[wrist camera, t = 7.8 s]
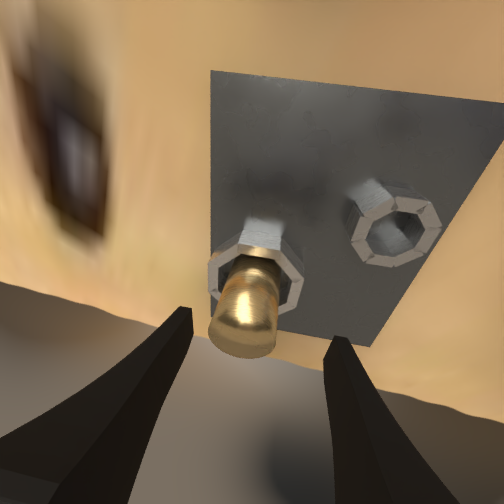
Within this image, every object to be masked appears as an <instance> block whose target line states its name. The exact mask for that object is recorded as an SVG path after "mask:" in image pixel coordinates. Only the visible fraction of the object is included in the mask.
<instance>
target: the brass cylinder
mask: <svg viewBox="0 0 504 504" xmlns="http://www.w3.org/2000/svg"><path fill="white" fill-rule="evenodd" d="M280 281H281V267H280V266H279V265H278V264H277V262H276V261H275V260H274V259H270V258H264V257H258V256H252V255H246V254H240V255H238V256H237V257H235V259H234V262H233V265H232V267H231V270H230V272H229V275H228V278H227V280H226V283H225V286H224V288H223V291H222V294H221V296H220V299H219V301H218V304H217V307H216V309H215V312H214V315H213V317H212V320H211V323H210V325H209V328H208V335H209V338H210V340H211V341H212V343H213V344H214V345H215V346H216V347H217V348H219V349H220V350H221V351H223V352H225V353H227V354H229V355H232V356H235V357H239V358H246V359H247V358H248V359H253V358H260V357H263V356H265V355H267V354H269V353H270V352H271V351H272V350H273V349H274V347H275V344H276V333H277V320H278V307H279V294H280Z"/></svg>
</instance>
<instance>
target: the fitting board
mask: <svg viewBox="0 0 504 504" xmlns="http://www.w3.org/2000/svg"><path fill="white" fill-rule="evenodd" d="M503 140H504V103H498V102H489V101H480V100H471V99H462V98H453V97H445V96H436V95H427V94H418V93H409V92H400V91H391V90H382V89H373V88H365V87H356V86H347V85H338V84H329V83H320V82H311V81H302V80H294V79H285V78H276V77H267V76H258V75H249V74H240V73H231V72H223V71H214V70H211V258H210V260H209V262H208V291H209V293H210V294H211V317H213V315H214V312H215V309H216V307H217V304H218V301H219V299H220V296H221V294H222V291H223V288H224V286H225V283H226V280H227V278H228V275H229V272H230V270H231V267H232V265H233V262H234V259H235V257H237V256H238V255H240V254H246V255H252V256H258V257H264V258H270V259H274V260H275V261H276V262H277V264H278V265H279V266H280V267H281V281H280V294H279V307H278V320H277V330H282V331H287V332H293V333H298V334H303V335H308V336H314V337H319V338H324V339H329V340H333V337H334V335H336V336H342V337H347V338H348V339H349V341H350V343H351V344H356V345H361V346H366V347H370V346H371V345H372V343H373V341H374V340H375V338H376V337H377V335H378V334H379V332H380V331H381V329H382V328H383V326H384V324H385V323H386V321H387V320H388V318H389V317H390V315H391V314H392V312H393V311H394V309H395V307H396V306H397V304H398V303H399V301H400V300H401V298H402V297H403V295H404V293H405V292H406V290H407V289H408V287H409V286H410V284H411V283H412V281H413V280H414V278H415V276H416V275H417V273H418V272H419V270H420V269H421V267H422V266H423V264H424V262H425V261H426V259H427V258H428V256H429V255H430V253H431V252H432V250H433V249H434V247H435V245H436V244H437V242H438V241H439V239H440V238H441V236H442V235H443V233H444V232H445V230H446V228H447V227H448V225H449V224H450V222H451V221H452V219H453V218H454V216H455V214H456V213H457V211H458V210H459V208H460V207H461V205H462V204H463V202H464V201H465V199H466V197H467V196H468V194H469V193H470V191H471V190H472V188H473V187H474V185H475V184H476V182H477V180H478V179H479V177H480V176H481V174H482V173H483V171H484V170H485V168H486V166H487V165H488V163H489V162H490V160H491V159H492V157H493V156H494V154H495V153H496V151H497V149H498V148H499V146H500V145H501V143H502V142H503Z"/></svg>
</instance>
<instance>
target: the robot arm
mask: <svg viewBox="0 0 504 504" xmlns="http://www.w3.org/2000/svg"><path fill="white" fill-rule="evenodd" d="M193 334H194V331H193V318H192V308H188V307H182V306H180V307H178V308H177V309H176V310H175V311H174V312H173V313H172V315H171V316H170V317H169V318H168V319H167V320H166V321H165V322H164V323H163V324H162V325H161V326H160V327H159V328H158V329H156V330H155V331H154V332H153V333H152V334H151V335H150V336H149V337H148V338H147V339H146V340H145V341H144V342H143V343H142V344H140V345H139V346H138V347H137V348H136V349H134V350H133V351H132V352H131V353H130V354H129V355H127V356H126V357H125V358H124V359H122V360H121V361H120V362H119V363H118V364H116V365H115V366H114V367H112V368H111V369H110V370H108V371H107V372H106V373H104V374H103V375H102V376H100V377H99V378H97V379H96V380H95V381H93V382H92V383H90V384H89V385H87V386H86V387H85V388H83V389H82V390H80V391H79V392H77V393H76V394H74V395H72V396H71V397H69V398H68V399H66V400H64V401H63V402H61V403H60V404H58V405H56V406H55V407H53V408H52V409H50V410H49V411H47V412H45V413H43V414H42V415H40V416H38V417H37V418H35V419H33V420H32V421H30V422H28V423H26V424H24V425H23V426H21V427H19V428H17V429H15V430H14V431H12V432H10V433H8V434H6V435H5V436H3V437H1V438H0V504H127V503H128V500H129V497H130V494H131V491H132V488H133V485H134V482H135V479H136V476H137V473H138V471H139V468H140V465H141V462H142V459H143V456H144V453H145V450H146V448H147V445H148V442H149V439H150V436H151V434H152V431H153V428H154V426H155V423H156V420H157V418H158V415H159V412H160V410H161V407H162V405H163V403H164V400H165V398H166V396H167V394H168V392H169V390H170V388H171V386H172V383H173V381H174V379H175V377H176V375H177V373H178V371H179V369H180V367H181V365H182V363H183V360H184V358H185V355H186V354H187V351H188V349H189V346H190V343H191V340H192V337H193ZM323 368H324V385H325V393H326V400H327V407H328V414H329V421H330V428H331V435H332V445H333V459H334V479H335V504H460V503H459V502H458V501H457V499H456V498H455V497H454V496H453V495H452V494H451V492H450V491H449V490H448V489H447V487H446V486H445V485H444V484H443V482H442V481H441V480H440V479H439V477H438V476H437V475H436V474H435V472H434V471H433V470H432V469H431V467H430V466H429V465H428V464H427V462H426V461H425V460H424V459H423V458H422V456H421V455H420V453H419V452H418V451H417V449H416V448H415V447H414V445H413V444H412V443H411V441H410V440H409V439H408V437H407V436H406V434H405V433H404V431H403V430H402V429H401V427H400V426H399V424H398V423H397V421H396V420H395V418H394V417H393V415H392V414H391V412H390V411H389V409H388V408H387V406H386V405H385V403H384V401H383V400H382V398H381V397H380V395H379V393H378V392H377V390H376V388H375V387H374V385H373V383H372V381H371V380H370V378H369V376H368V375H367V373H366V371H365V369H364V367H363V366H362V364H361V362H360V360H359V358H358V356H357V354H356V352H355V351H354V349H353V347H352V345H351V343H350V341H349V339H348V338H347V337H342V336H336V335H334V337H333V340H332V342H331V344H330V346H329V348H328V350H327V352H326V354H325V357H324V359H323Z"/></svg>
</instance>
